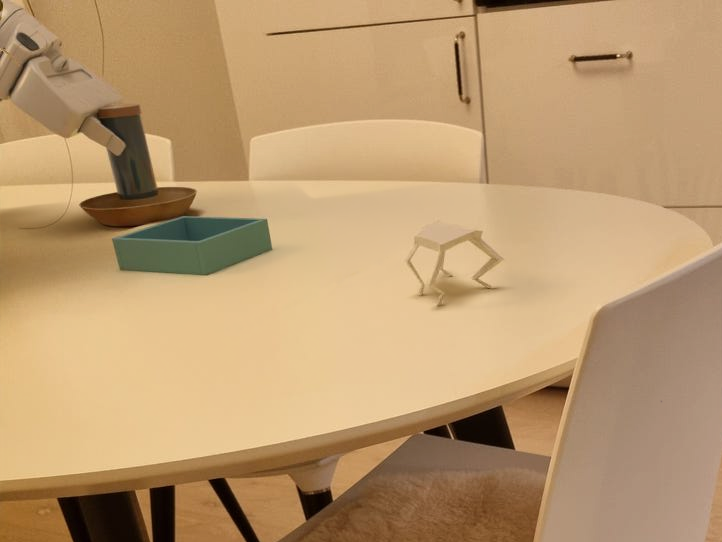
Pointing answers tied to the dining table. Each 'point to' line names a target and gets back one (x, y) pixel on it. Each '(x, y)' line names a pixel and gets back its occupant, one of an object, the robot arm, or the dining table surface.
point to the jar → (129, 152)
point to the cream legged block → (445, 238)
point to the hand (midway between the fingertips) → (131, 146)
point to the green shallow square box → (192, 245)
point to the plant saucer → (139, 207)
